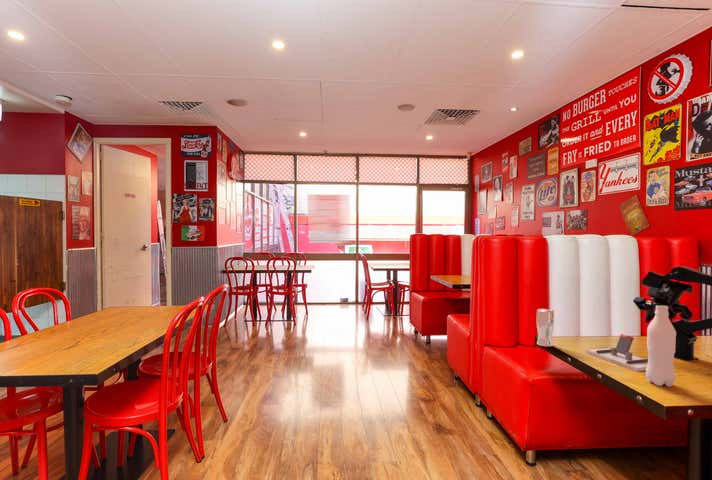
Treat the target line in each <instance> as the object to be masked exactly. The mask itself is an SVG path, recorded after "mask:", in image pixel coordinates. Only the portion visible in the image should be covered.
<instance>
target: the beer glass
mask: <svg viewBox="0 0 712 480" xmlns="http://www.w3.org/2000/svg"><path fill="white" fill-rule="evenodd" d="M535 319H536V321H535V323H536V328H537V341H536V345H538V346H540V347H547V348H548V347H549V348H550V347H553V341H552V340H553V339H552V338H553V337H552V336H553V332H554V327H555V310H554V309H549V308H548V309H547V308H537V309H536V318H535Z"/></svg>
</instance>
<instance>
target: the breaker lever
mask: <svg viewBox="0 0 712 480" xmlns="http://www.w3.org/2000/svg"><path fill="white" fill-rule="evenodd" d="M618 339H619V340H618V342H617V344H616V347H615V348H616V349H615V352H618V353H621V354H624V355H625V354H626V353H628V352H629V351H630V349H631V346H632V344H633V341H634V337H633V336H630V335H627V334H624V333H621V334H620V335H619V338H618Z"/></svg>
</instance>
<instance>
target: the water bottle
mask: <svg viewBox="0 0 712 480" xmlns="http://www.w3.org/2000/svg"><path fill="white" fill-rule="evenodd" d="M655 311H656V312H655V313H656V314H655V317H654V318H653V319H652V320H651V321H650V323H648V326H647V329H646V332H647V334H646V349H647V356H648V358H647V359H648V365H647V368H646V370H645V375H646V378H647V380H648V382H649V383H651V384H652V383H653V384H654V385H656V386H658V387H662V386H663V385H664V386H666V387H668V388H670V387H672V386H673V385H674V383H675V381H676V374H675V370H674V369H675V368H674V358H675V357H674V354H675V343H676V331H675V329H674V327H673V325H672V323H671V322H672V321H670V320H671V319H670V320H669V318H668V315H669V313H668V307H667V306H658V305H657V306H656V310H655Z"/></svg>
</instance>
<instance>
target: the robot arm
mask: <svg viewBox="0 0 712 480" xmlns="http://www.w3.org/2000/svg"><path fill="white" fill-rule="evenodd" d="M691 283H695V284H702V285H706V286H711V287H712V274H708V273H704V272H701V271H700V270H698V269H695V268H692V267H689V266H687V265H685V266H683V265H681V266H675V267H673V268H672V269H671V270H670V272H668V273H666V274H661V273H657V272H655V271H652V270H649V271H648V272H647V274H646V275H645V276H644V277H643V279H642V280H641V285H642V286H644V287H646V288H648V289H647V291H646V294H645V295H647V296H649V297H651V298H650V299H651V300H648V299H647V297H640V296H636V297H634V298H633V300H632V302H633V303H634V304H635V306H636V307H637V309H638V310H640V311H643V312H645V318H644V322H645V323H646V324H649V322H650V323H651V322H652V320H653V319H654V317H655V314H656V313H655V312H656V311H655V310H656V306H657V305H658V306H667V307H668V313H669V315H668V318H669V320H672V319H676V320H673V321H670V322H671V324H672V325H673V327H674V329H675V331H676V343H675V354H674V358H677V359H681V360H684V361H688V362H689V361H695V360H699V359H700V358H699V357H696V356H695V342H696V341H697V340H698V336H697V335H695V334H694V333H697V332H701V331H705V330H710V329H712V317H708V318H703V319H699V320H698V319H697V320H692V318H693V316H694V314H693V312H692V311H691V310H690V308H689V307H688V305H686V304H683V303H682V304H681V302H680V299H681V297H682V296H683V294H684V293H685V292H686V293H690V294H692V293H693V292H694V291H693V289H694V288H693V286H692V285H691ZM677 315H679V317H680V318H681V319H677Z"/></svg>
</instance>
